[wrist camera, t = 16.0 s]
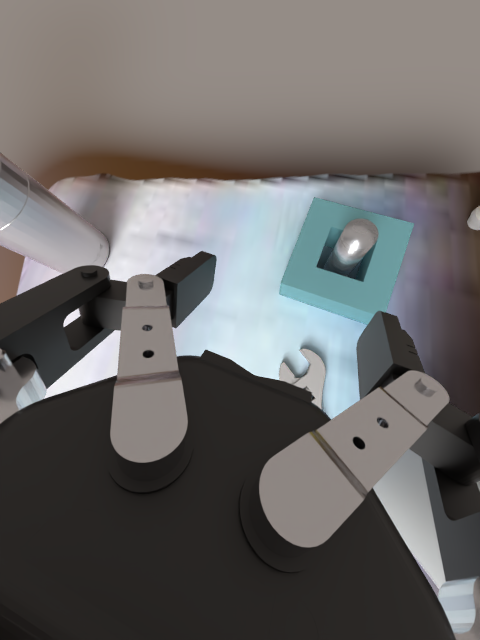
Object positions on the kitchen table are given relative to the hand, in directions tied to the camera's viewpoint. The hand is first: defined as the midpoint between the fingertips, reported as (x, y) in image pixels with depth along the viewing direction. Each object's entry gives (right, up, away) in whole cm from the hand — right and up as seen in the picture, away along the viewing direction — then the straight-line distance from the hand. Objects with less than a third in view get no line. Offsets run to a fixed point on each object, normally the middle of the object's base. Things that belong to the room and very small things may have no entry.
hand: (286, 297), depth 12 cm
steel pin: (+12, +6, +24) cm, 28 cm away
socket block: (+12, +6, +24) cm, 28 cm away
